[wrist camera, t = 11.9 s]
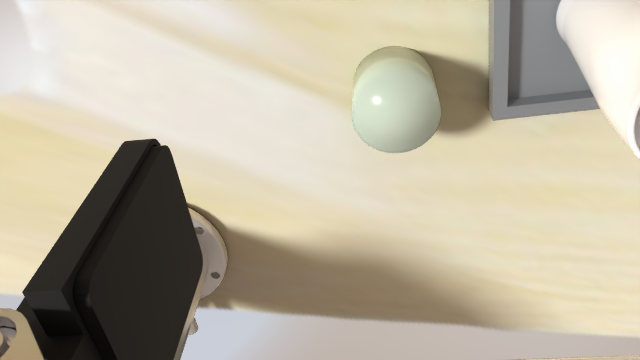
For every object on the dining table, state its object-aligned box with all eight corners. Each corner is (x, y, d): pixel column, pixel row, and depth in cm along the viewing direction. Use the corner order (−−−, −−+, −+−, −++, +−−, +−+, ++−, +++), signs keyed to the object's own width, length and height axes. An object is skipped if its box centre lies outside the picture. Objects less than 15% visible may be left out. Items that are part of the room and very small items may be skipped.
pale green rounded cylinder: (435, 114, 44) (442, 148, 40) (358, 123, 45) (357, 157, 41) (431, 40, 41) (439, 69, 36) (348, 51, 41) (346, 80, 37)
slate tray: (685, 86, 41) (697, 98, 40) (488, 109, 43) (493, 120, 42) (732, -128, 34) (749, -125, 32) (489, -89, 36) (495, -84, 34)
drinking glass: (669, 6, 38) (819, 113, 25) (579, 75, 41) (674, 200, 28) (611, -68, 35) (746, 10, 23) (521, 11, 38) (597, 117, 26)
